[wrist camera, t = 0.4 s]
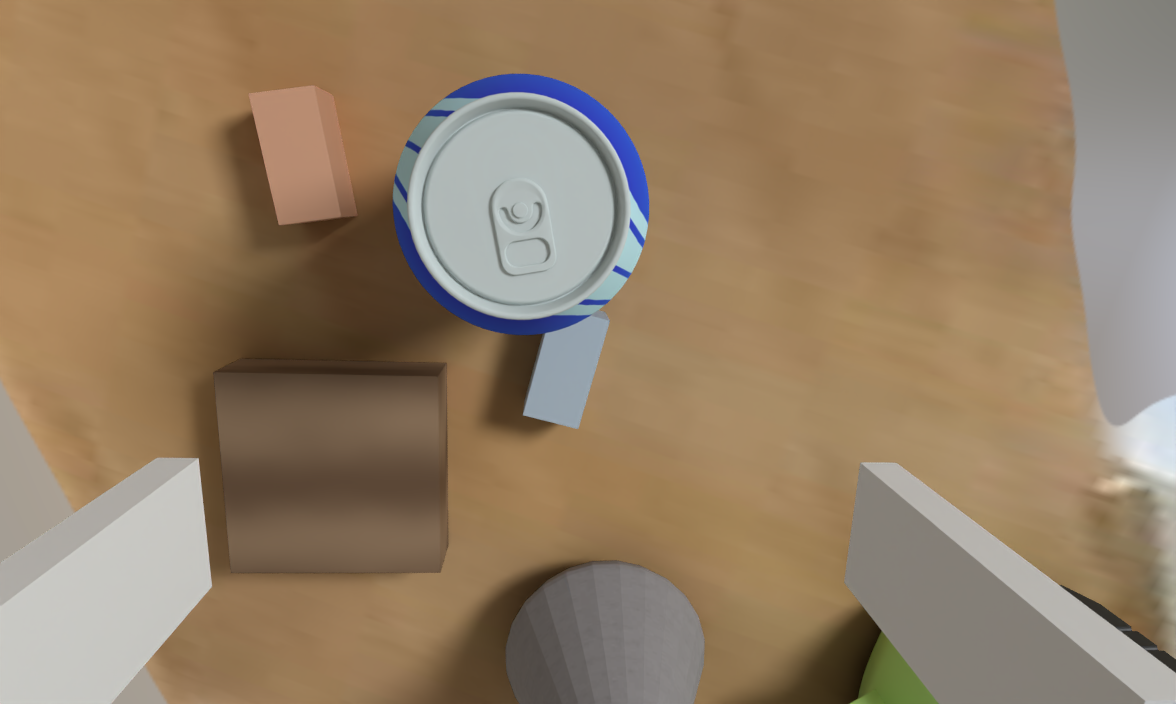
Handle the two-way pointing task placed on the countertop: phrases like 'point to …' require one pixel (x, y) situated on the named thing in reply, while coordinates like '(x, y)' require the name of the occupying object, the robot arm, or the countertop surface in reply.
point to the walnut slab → (334, 465)
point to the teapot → (891, 679)
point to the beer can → (520, 204)
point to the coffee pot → (606, 639)
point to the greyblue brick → (565, 371)
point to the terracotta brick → (303, 154)
